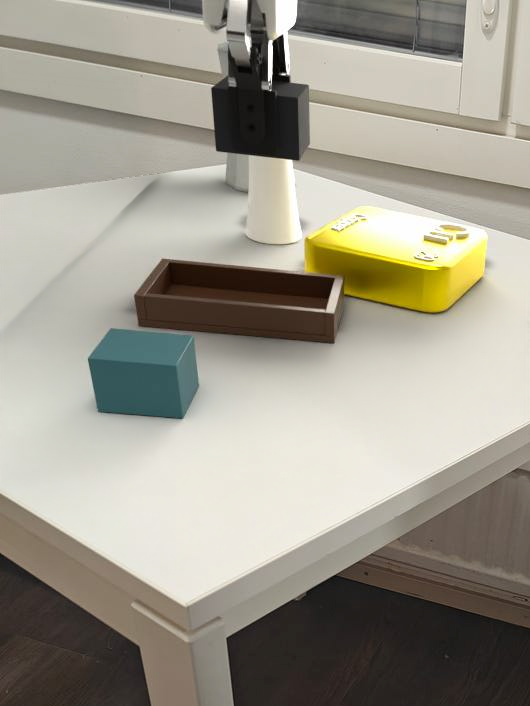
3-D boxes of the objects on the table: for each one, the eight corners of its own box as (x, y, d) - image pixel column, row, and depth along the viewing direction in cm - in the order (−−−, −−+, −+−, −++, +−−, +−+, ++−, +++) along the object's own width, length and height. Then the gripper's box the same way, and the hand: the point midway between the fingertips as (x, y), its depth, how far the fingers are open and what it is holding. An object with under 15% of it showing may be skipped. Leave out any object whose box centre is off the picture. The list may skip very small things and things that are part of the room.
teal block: (97, 411, 64) (87, 358, 61) (119, 379, 68) (110, 327, 65) (182, 418, 64) (176, 365, 62) (199, 385, 68) (193, 335, 66)
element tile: (360, 245, 98) (360, 198, 95) (488, 272, 95) (493, 225, 92) (297, 285, 87) (295, 233, 84) (441, 317, 84) (445, 265, 81)
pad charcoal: (215, 151, 64) (210, 87, 62) (231, 135, 68) (227, 74, 66) (299, 161, 65) (297, 97, 62) (310, 144, 69) (309, 84, 66)
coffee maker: (208, 172, 114) (193, 1, 102) (272, 170, 118) (265, 5, 106) (255, 206, 105) (245, 23, 93) (323, 202, 109) (321, 26, 98)
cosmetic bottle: (244, 243, 95) (227, -11, 80) (246, 225, 99) (231, -18, 85) (302, 246, 96) (295, -4, 82) (301, 229, 100) (295, -11, 86)
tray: (138, 325, 76) (133, 295, 74) (165, 287, 83) (162, 258, 81) (334, 343, 77) (334, 313, 75) (344, 303, 84) (344, 275, 83)
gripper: (217, -186, 61) (236, 114, 73) (146, -206, 48) (184, 164, 59) (326, -171, 61) (328, 125, 73) (287, -186, 48) (296, 177, 60)
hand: (263, 140), depth 66 cm, fingers closed on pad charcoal, 5 cm apart
